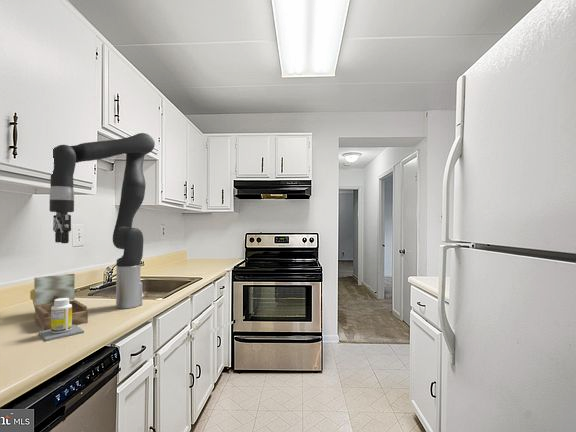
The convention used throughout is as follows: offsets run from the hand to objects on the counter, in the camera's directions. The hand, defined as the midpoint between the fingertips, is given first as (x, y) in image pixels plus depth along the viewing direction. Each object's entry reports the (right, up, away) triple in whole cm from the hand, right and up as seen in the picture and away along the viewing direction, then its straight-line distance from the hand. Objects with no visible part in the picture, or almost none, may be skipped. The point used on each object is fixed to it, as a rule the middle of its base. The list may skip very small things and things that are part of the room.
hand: (61, 242), depth 120 cm
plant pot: (-10, -28, +6) cm, 31 cm away
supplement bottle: (+11, -27, -16) cm, 34 cm away
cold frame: (+2, -28, -4) cm, 28 cm away
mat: (+11, -28, -16) cm, 34 cm away
